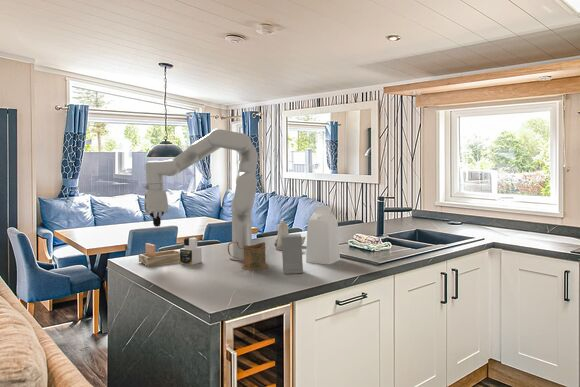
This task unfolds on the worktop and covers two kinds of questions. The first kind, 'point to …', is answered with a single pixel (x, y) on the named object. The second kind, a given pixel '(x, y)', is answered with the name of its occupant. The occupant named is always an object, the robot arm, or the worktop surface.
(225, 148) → the robot arm
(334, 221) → the milk
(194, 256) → the medicine bottle
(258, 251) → the mug
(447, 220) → the worktop surface
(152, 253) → the pusher plate
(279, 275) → the worktop surface
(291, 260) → the skincare box
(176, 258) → the wooden tray
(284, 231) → the chinaware
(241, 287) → the worktop surface
